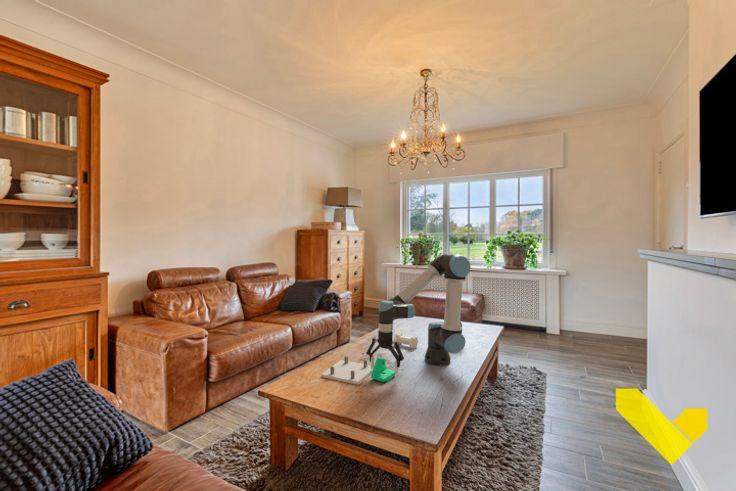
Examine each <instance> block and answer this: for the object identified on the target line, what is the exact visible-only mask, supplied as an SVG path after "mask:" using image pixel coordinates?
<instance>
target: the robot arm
mask: <svg viewBox="0 0 736 491" xmlns="http://www.w3.org/2000/svg"><path fill="white" fill-rule="evenodd" d="M471 268H472V266H471V262H470V261H469V259H468V258H467V257H466V256H464V255H461V254H453V253H443V254H441V255H440V256H438V257H436V258H435V259H434V260H432V261H431V262H430V263H429V264H428V265H427V268H426V269H425V270H424V271H422V272H421V273H420V274H419V275H418V276H416V278H414V279H413V280H412V281H411V282H410V283H409V284H408V285H407V286H405V287H404V288H403V289H402V290H401V291H399V293H397V294H396V295H395V296H394V297H389V298H388V299H386V300H381V301H379V304H378V327H377V328H378V332H377V336H378V337H376V336H375V337H373V338H372V339H371V340H372V341H371V343H370V345H369V347H368V349H367V351H366V352H365V354H366V355H368V357H369V363H370V365H371V369H373V368H374V365H375V355H374V354H375V353H376V352H377V351H378V350H379V349H380V348H381V349H385V350H389V351H390V353H391V354H392V356H393V357H394V360H395V362H394V364H395V365H394V366H395V367H394V368H395V370H394V371H395V375H397V374H398V373H399V368H400V366H401V362H402V361H403V360H404V359H405V358H404V355H403V353H402V350H401V347H400V346H399V345H400V344H398V341H394V338H393V334H394V332H393V328H394V320H399V319H401V320H402V319H407V320H408V319H413V318H414V317H415V315H416V307H415V305H414V304H413V303H410V302H411V301H412V300H413V299H414V298H416V296H418V295H419V294H420V293H421V292H422V291H423V290H424V289H425V288H427V287H428V285H430V284H431V283H433V281H434V280H436V279H437V278H440V277H441V276H443V279H444V280H445V281H446V287H445V288H446V289H445V302H444V304H445V305H444V319H443V321H432V322H429V323H428V328H427V331H428V332H427V338H428V339H427V349H426V352H425V354H424V362H426V363H427V364H430V365H433V366H434V365H435V366H446V365H447V366H448V365H449V364H450V363H451V354H459V353H461V351H462V350H464V348H465V346H466V338H465V336H464V335H463V326H462V327H461V326H460V322H461V321H460V315H461V313H462V312H461V311H462V295H463V294H462V293H463V283H464V282H465V281H466V280H467V279H466V278H467V276H468V275H469V273H470V272H471ZM376 343H378V345H377V346H376V347H375V348H374V346H375V345H376ZM372 349H373V350H372Z"/></svg>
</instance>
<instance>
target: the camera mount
mask: <svg viewBox="0 0 736 491" xmlns="http://www.w3.org/2000/svg"><path fill="white" fill-rule="evenodd" d="M370 375H371V377H370V378H371V379H373V380H376V381H379V382H382V383H384V382H389V381H390V380H393V377H394V376H396V374H395V370H392V369H390V368H387V366H386V359H385V358H383V357H380V356H378V357H377V358H376V360H375V361H374V368H373V372H372V373H371V374H370Z"/></svg>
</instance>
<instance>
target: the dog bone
mask: <svg viewBox="0 0 736 491" xmlns="http://www.w3.org/2000/svg"><path fill="white" fill-rule="evenodd" d="M393 341H398V344H399V345H402V344H404V345H408V346H409V348H410V349H411V350H414V349H417V347H418V344H419V339H418V336H416V335H412V336H410V337H408V336H404V335H403V333H401V332H397V333H394V338H393Z"/></svg>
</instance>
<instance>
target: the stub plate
mask: <svg viewBox="0 0 736 491" xmlns="http://www.w3.org/2000/svg"><path fill="white" fill-rule="evenodd" d="M372 372H373V369H371V364H368V359H363V363H361V362H360V363H359V362H354V361H350V360H349V356H347V355H345V356H344V359H340V360H339V361H337V362H336V363H335V364H333V365H332V366H330V367H329V368H327V369H326V370H325V371H323V372H322V373H321V375H320V377H321V378H323V379H329V380H333V381H338V382H339V381H340V382H344V383H347V384H348V383H349V384H352V385H358V386H359V385H360V384H361V383H362V382H364V381H365V380H366V379H367V378H368V377H369V376H370V375H372Z"/></svg>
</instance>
